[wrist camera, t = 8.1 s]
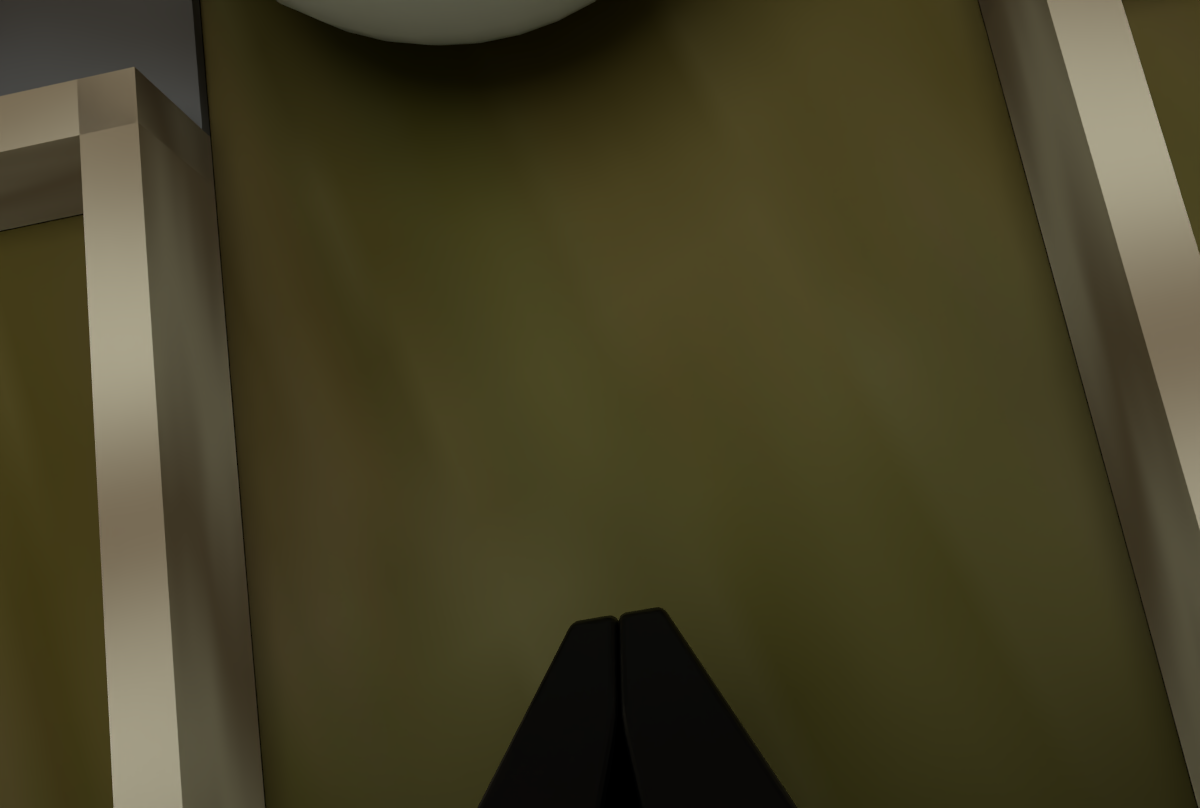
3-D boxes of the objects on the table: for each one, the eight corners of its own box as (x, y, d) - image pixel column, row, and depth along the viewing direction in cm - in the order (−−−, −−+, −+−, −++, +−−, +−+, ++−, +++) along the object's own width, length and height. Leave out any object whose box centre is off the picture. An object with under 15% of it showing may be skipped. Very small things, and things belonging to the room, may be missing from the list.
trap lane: (1662, 916, 14) (2026, 1032, 10) (-48, 1136, 16) (-298, 1303, 12) (1109, -620, 20) (1202, -919, 16) (-73, -315, 22) (-243, -514, 18)
